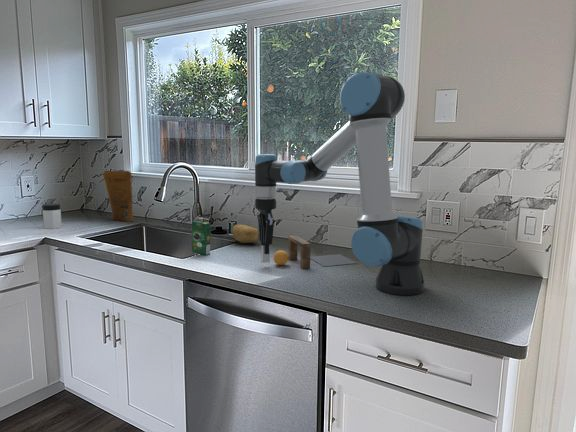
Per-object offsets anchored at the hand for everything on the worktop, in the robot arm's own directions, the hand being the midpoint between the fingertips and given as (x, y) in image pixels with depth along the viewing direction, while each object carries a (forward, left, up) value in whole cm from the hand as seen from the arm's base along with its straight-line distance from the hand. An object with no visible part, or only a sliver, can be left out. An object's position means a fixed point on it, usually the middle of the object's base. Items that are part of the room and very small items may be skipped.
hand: (265, 261), depth 163 cm
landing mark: (0, -27, -2) cm, 27 cm away
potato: (+39, -3, -2) cm, 39 cm away
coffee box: (+26, +19, -2) cm, 32 cm away
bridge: (0, -13, -2) cm, 13 cm away
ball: (0, -6, +1) cm, 6 cm away
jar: (+102, +82, -2) cm, 131 cm away
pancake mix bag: (+114, +49, -2) cm, 124 cm away
